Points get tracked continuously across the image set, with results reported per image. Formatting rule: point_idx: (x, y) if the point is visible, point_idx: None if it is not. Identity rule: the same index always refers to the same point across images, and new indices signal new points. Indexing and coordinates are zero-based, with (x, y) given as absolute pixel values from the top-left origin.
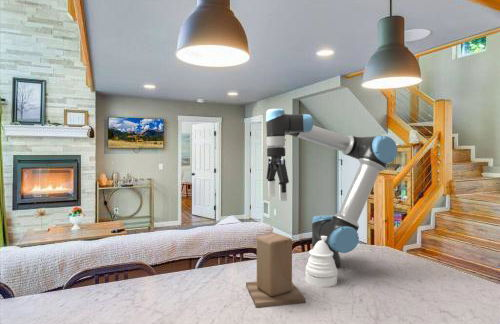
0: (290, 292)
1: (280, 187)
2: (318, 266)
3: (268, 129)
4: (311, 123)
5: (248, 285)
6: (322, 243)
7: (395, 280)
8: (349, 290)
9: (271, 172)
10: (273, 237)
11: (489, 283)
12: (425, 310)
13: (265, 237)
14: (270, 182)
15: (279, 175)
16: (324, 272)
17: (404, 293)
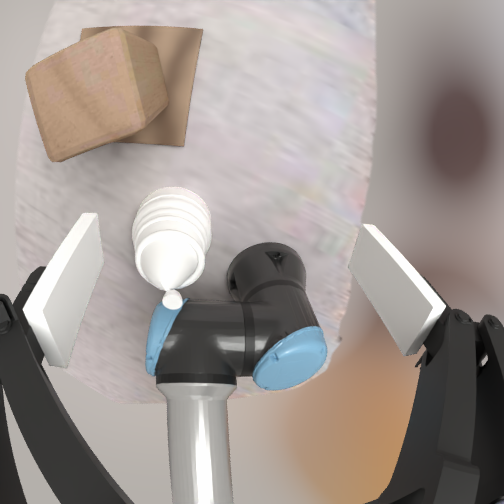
0: None
1: (36, 289)
2: (141, 225)
3: None
4: None
5: (180, 29)
6: (153, 279)
7: (142, 336)
8: (111, 249)
9: (435, 422)
10: (70, 92)
11: (120, 402)
12: None
13: (79, 58)
14: (420, 314)
15: (18, 421)
16: (133, 228)
17: (92, 317)
